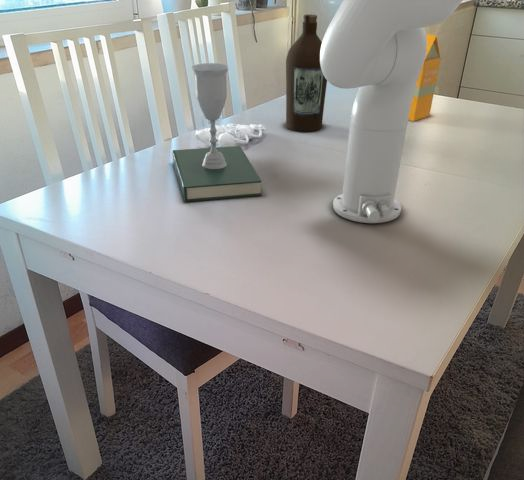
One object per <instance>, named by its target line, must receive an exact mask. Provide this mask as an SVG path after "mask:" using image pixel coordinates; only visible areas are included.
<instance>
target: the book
mask: <svg viewBox="0 0 524 480" xmlns="http://www.w3.org/2000/svg"><path fill="white" fill-rule="evenodd" d="M216 149H217V150H218V152H221V153H222V155H223V157H224V159H225V162H226V163H227V165H226V166H225V167H224V168H220V169H208V168H205V167H203V166H202V164H203V162H204V158H205V155H206V154H207V152H210V150H211V147H201V148H188V149H187V148H186V149H172V150H171V152H172V160H173V161H172V163H173V167H174V170H175V175H176V177H177V181H178V184H179V188H180V190H181V195H182V197H183V200H184V203H191V202H203V201H214V200H227V199H238V198H250V197H262V193H261V183H262V179H261V177H260V176H259V174H258V173H257V171H256V169H255V167H254V166H253V165H252V163H251V161H250V160H249V158H248V156H247V155H246V153H245V151H244V150H243V148H242V147H241V145H233V146H231V147H220V146H216Z"/></svg>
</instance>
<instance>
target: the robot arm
mask: <svg viewBox="0 0 524 480" xmlns="http://www.w3.org/2000/svg"><path fill="white" fill-rule="evenodd" d="M463 1H464V0H342V1H341V3H340V5H339V7H338V9H337V10H336V12H335V14H334V15H333V17H332V19H331V21H330V23H329V25H328V27H327V28H326V31H325V33H324V34H323V37H322V40H321V42H322V44H321V49H320V66H321V70H322V73H323V75H324V77H325V78H326V80H327V83H329V84H331V85H332V86H333V87H336V88H338V89H344V90H345V89H346V90H349V89H358V91H357V92H356V95H355V97H354V100H353V104H352V108H351V113H350V122H349V130H348V141H347V147H346V149H347V150H346V159H345V168H344V176H343V185H342V186H343V187H342V193H340V194H338V195H336V196H335V197H334V199H333V201H332V208H333V211H334V213H336V214H337V215H338V216H339V217H342V218H343V219H346V220H349V221H352V222H357V223H361V224H382V223H387V222H391V221H393V220H395V219H397V218H398V217H399V216H400V215H401V212H402V204H401V203H400V202H399V200H398V199H396V198H395V195H396V191H397V185H398V180H399V179H398V178H399V175H400V167H401V162H402V155H403V151H404V144H405V138H406V132H407V127H408V123H409V120H408V118H409V112H410V107H411V102H412V98H413V94H414V90H415V87H416V83H417V80H418V78H419V75H420V72H421V69H422V66H423V63H424V60H425V56H426V50H427V36H426V34H427V32H426V29H425V28H427V27H432V26H437V25H439V24H442V23H443V22H445V21H446V20H448V19H449V18H450V17H451V16H452V14H454V12H455V11H456V10H457V9H458V7H459V6H460V5H461V4H462V3H463Z"/></svg>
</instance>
